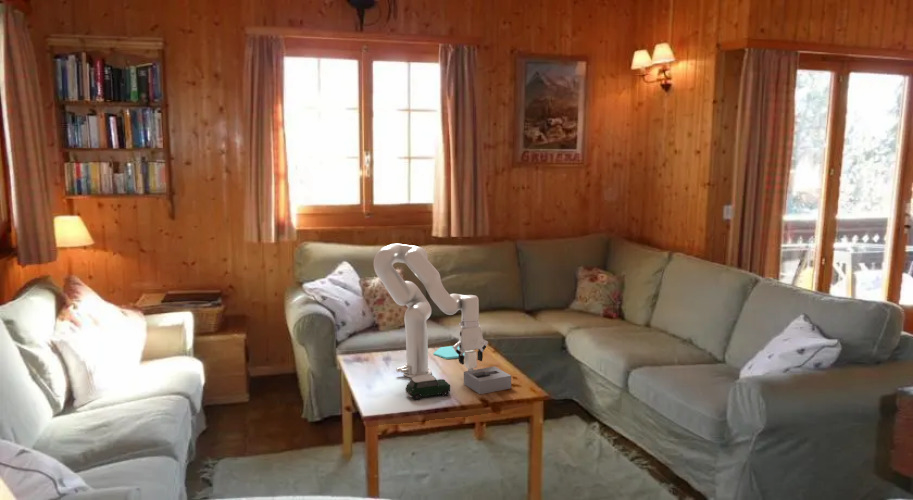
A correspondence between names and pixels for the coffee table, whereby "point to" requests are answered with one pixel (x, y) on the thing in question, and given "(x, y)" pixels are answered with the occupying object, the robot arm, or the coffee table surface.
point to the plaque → (447, 352)
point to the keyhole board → (487, 380)
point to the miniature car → (426, 387)
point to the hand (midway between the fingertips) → (470, 361)
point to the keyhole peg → (470, 359)
